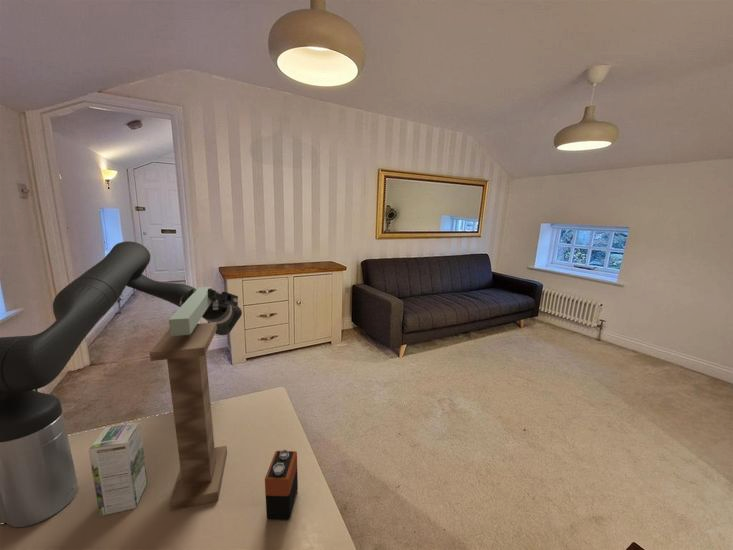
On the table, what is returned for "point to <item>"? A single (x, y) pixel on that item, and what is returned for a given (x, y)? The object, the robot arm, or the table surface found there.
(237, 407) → the table surface
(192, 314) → the peg
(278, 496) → the battery
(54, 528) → the table surface
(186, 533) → the table surface
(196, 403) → the stand
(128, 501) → the syrup box
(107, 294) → the robot arm
